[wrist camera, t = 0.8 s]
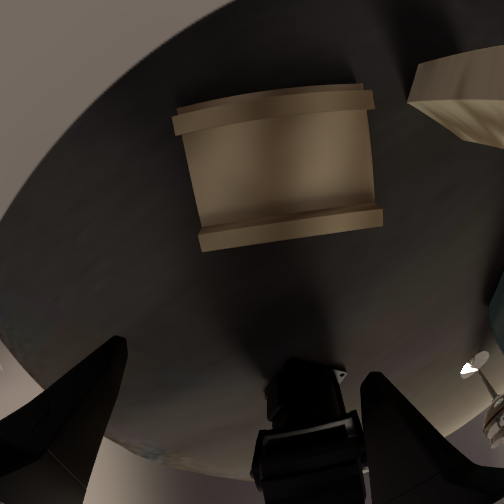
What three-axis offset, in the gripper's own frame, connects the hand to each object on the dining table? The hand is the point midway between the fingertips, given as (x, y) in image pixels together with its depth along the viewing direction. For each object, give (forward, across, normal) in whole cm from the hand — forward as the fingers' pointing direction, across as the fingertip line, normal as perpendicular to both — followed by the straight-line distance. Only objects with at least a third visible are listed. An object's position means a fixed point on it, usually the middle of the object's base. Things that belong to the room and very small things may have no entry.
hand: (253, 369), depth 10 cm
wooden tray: (+13, -1, -5) cm, 14 cm away
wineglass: (+11, -32, +12) cm, 36 cm away
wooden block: (+13, -12, -13) cm, 22 cm away
